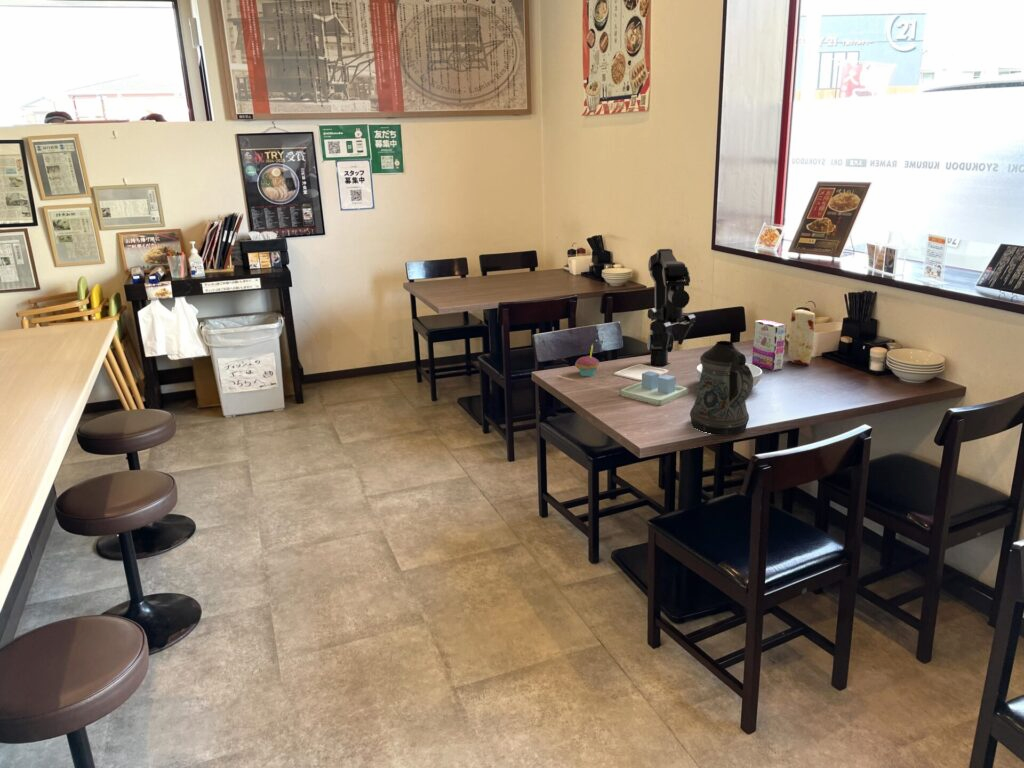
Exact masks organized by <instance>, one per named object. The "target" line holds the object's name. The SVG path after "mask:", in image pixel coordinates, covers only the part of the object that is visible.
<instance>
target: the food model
mask: <svg viewBox="0 0 1024 768" xmlns="http://www.w3.org/2000/svg"><path fill="white" fill-rule="evenodd" d="M790 319H791V320H790V326H789V336H788V347H787V348H788V351H787V352H788V353H787V354H788V355H787V357H788V360H789V361H790V362H791V363H793V364H794V363H795V364H797V365H802V366H805V365H809V364H810V362H811V359H812V355H813V349H814V344H815V331H816V329H815V328H816V314H815V312H812V311H809V310H805V309H802V308H801V309H794V310H792V312H791V318H790Z"/></svg>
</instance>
